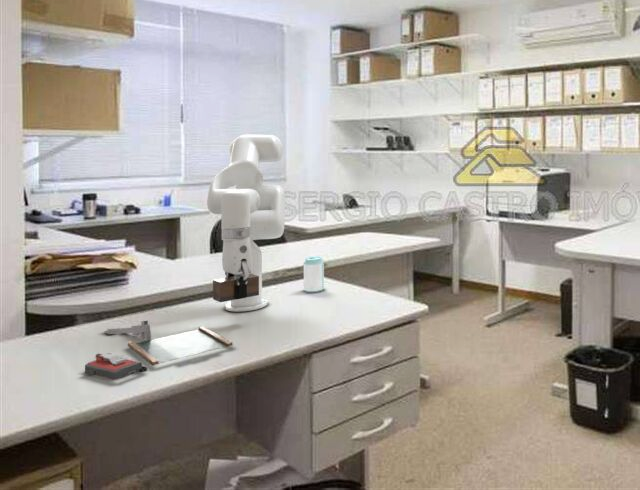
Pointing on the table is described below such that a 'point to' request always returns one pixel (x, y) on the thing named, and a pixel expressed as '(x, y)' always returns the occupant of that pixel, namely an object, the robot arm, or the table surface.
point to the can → (313, 274)
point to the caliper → (134, 330)
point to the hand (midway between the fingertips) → (236, 296)
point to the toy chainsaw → (113, 366)
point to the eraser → (233, 288)
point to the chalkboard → (179, 345)
